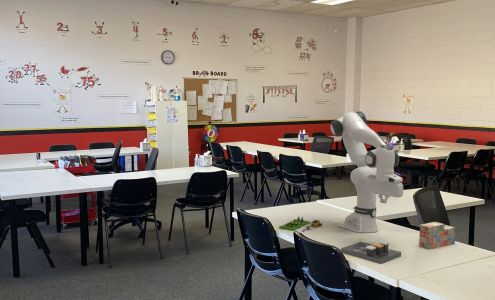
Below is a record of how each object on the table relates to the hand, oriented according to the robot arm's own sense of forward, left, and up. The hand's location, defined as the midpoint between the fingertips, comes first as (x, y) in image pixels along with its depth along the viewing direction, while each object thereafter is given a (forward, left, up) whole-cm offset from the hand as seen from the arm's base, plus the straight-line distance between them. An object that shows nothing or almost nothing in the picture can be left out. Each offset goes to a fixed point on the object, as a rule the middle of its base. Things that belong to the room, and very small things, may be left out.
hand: (383, 203), depth 252 cm
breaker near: (+5, -17, -22) cm, 29 cm away
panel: (+1, -11, -25) cm, 27 cm away
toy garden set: (-58, +2, -26) cm, 64 cm away
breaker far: (+5, -5, -22) cm, 24 cm away
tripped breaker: (+5, -11, -23) cm, 26 cm away
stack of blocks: (+15, +30, -25) cm, 42 cm away
